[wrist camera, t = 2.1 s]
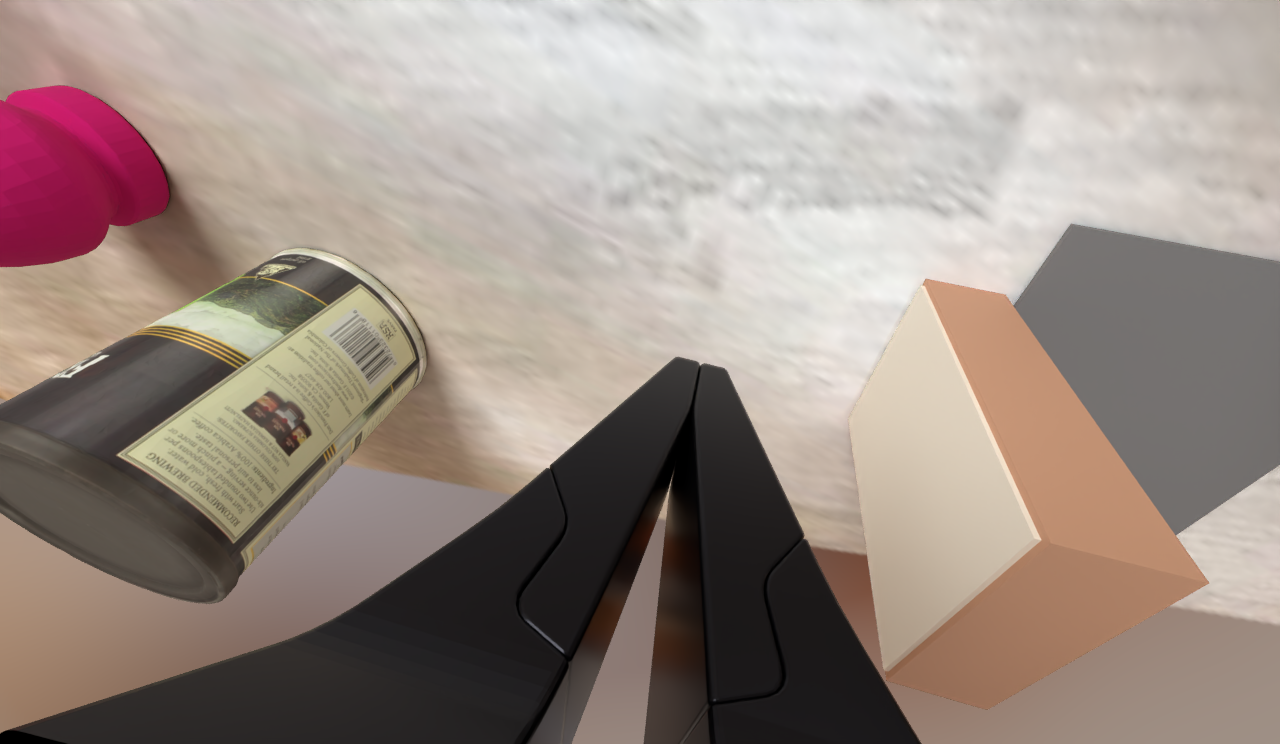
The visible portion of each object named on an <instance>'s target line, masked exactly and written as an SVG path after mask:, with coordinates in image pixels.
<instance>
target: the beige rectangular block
mask: <svg viewBox="0 0 1280 744" xmlns="http://www.w3.org/2000/svg"><path fill="white" fill-rule="evenodd" d="M848 423H849V430H850V437H851V444H852V451H853V459H854V466H855V473H856V480H857V487H858V494H859V501H860V508H861V515H862V522H863V529H864V536H865V544H866V551H867V558H868V565H869V571H870V579H871V586H872V593H873V600H874V607H875V614H876V621H877V628H878V635H879V643H880V649H881V657H882V663H883V670H884V671H885V674H886V681H889V682H892V683H896V684H899V685H902V686H906V687H909V688H913V689H917V690H920V691H923V692H927V693H930V694H933V695H937V696H940V697H944V698H947V699H950V700H954V701H957V702H961V703H964V704H968V705H971V706H975V707H978V708H982V709H985V710H988V709H990V708H991V707H993V706H995V705H996V704H998V703H1000V702H1002V701H1004V700H1005V699H1007V698H1009V697H1011V696H1012V695H1014V694H1016V693H1018V692H1019V691H1021V690H1023V689H1024V688H1026V687H1028V686H1030V685H1032V684H1033V683H1035V682H1037V681H1038V680H1040V679H1042V678H1044V677H1045V676H1047V675H1049V674H1051V673H1053V672H1054V671H1056V670H1058V669H1060V668H1061V667H1063V666H1065V665H1067V664H1068V663H1070V662H1072V661H1074V660H1075V659H1077V658H1079V657H1081V656H1082V655H1084V654H1086V653H1088V652H1089V651H1091V650H1093V649H1095V648H1096V647H1098V646H1100V645H1102V644H1103V643H1105V642H1107V641H1109V640H1110V639H1112V638H1114V637H1116V636H1117V635H1119V634H1121V633H1123V632H1124V631H1126V630H1128V629H1130V628H1131V627H1133V626H1135V625H1137V624H1138V623H1140V622H1142V621H1143V620H1145V619H1147V618H1149V617H1151V616H1152V615H1154V614H1156V613H1158V612H1160V611H1161V610H1163V609H1165V608H1167V607H1168V606H1170V605H1172V604H1174V603H1175V602H1177V601H1179V600H1181V599H1182V598H1184V597H1186V596H1188V595H1189V594H1191V593H1193V592H1195V591H1196V590H1198V589H1200V588H1202V587H1203V586H1205V585H1207V584H1209V582H1208V581H1207V579H1206V578H1205V576H1204V575H1203V574H1202V572H1201V571H1200V569H1199V568H1198V566H1197V565H1196V564H1195V562H1194V561H1193V559H1192V558H1191V557H1190V555H1189V554H1188V552H1187V551H1186V550H1185V548H1184V547H1183V545H1182V544H1181V542H1180V541H1179V540H1178V538H1177V537H1176V535H1175V534H1174V533H1173V531H1172V530H1171V528H1170V527H1169V525H1168V524H1167V523H1166V521H1165V520H1164V518H1163V517H1162V516H1161V514H1160V513H1159V511H1158V510H1157V508H1156V507H1155V506H1154V504H1153V503H1152V501H1151V500H1150V499H1149V497H1148V496H1147V494H1146V493H1145V492H1144V490H1143V489H1142V487H1141V486H1140V484H1139V483H1138V482H1137V480H1136V479H1135V477H1134V476H1133V475H1132V473H1131V472H1130V470H1129V469H1128V467H1127V466H1126V465H1125V463H1124V462H1123V460H1122V459H1121V458H1120V456H1119V455H1118V453H1117V452H1116V451H1115V449H1114V448H1113V446H1112V445H1111V443H1110V442H1109V441H1108V439H1107V438H1106V436H1105V435H1104V434H1103V432H1102V431H1101V429H1100V428H1099V426H1098V425H1097V424H1096V422H1095V421H1094V419H1093V418H1092V417H1091V415H1090V414H1089V412H1088V411H1087V410H1086V408H1085V407H1084V405H1083V404H1082V402H1081V401H1080V400H1079V398H1078V397H1077V395H1076V394H1075V393H1074V391H1073V390H1072V388H1071V387H1070V385H1069V384H1068V383H1067V381H1066V380H1065V378H1064V377H1063V376H1062V374H1061V373H1060V371H1059V370H1058V368H1057V367H1056V366H1055V364H1054V363H1053V361H1052V360H1051V359H1050V357H1049V356H1048V354H1047V353H1046V352H1045V350H1044V349H1043V347H1042V346H1041V344H1040V343H1039V342H1038V340H1037V339H1036V337H1035V336H1034V335H1033V333H1032V332H1031V330H1030V329H1029V327H1028V326H1027V325H1026V323H1025V322H1024V320H1023V319H1022V318H1021V316H1020V315H1019V313H1018V312H1017V311H1016V309H1015V308H1014V306H1013V305H1012V303H1011V302H1010V301H1009V299H1008V298H1007V296H1006V295H1004V294H999V293H994V292H989V291H984V290H979V289H974V288H969V287H964V286H959V285H954V284H949V283H944V282H939V281H934V280H929V279H925V281H924V283H923V285H920V287H919V289H918V291H917V292H916V294H915V296H914V298H913V300H912V302H911V304H910V305H909V307H908V309H907V311H906V313H905V315H904V317H903V318H902V320H901V322H900V324H899V326H898V328H897V329H896V331H895V333H894V335H893V337H892V339H891V341H890V342H889V344H888V346H887V348H886V350H885V352H884V354H883V355H882V357H881V359H880V361H879V363H878V365H877V367H876V368H875V370H874V372H873V374H872V376H871V378H870V379H869V381H868V383H867V385H866V387H865V389H864V391H863V392H862V394H861V396H860V398H859V400H858V402H857V404H856V405H855V407H854V409H853V411H852V413H851V415H850V417H849V418H848Z"/></svg>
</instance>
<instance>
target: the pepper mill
mask: <svg viewBox="0 0 1280 744" xmlns="http://www.w3.org/2000/svg"><path fill="white" fill-rule="evenodd" d="M169 197H170V196H169V188H168V182H167V180H166V177H165V174H164V171H163V169H162V167H161V165H160V164H159V162H158V160H157V159H156V157H155V155H154V154H153V152H152V150H151V149H150V147H149V146H148V145H147V144H146V142H145V141H144V140H143V138H142V137H141V136H140V135H139V133H138V132H137V131H136V130H135V129H134V128H133V127H132V126H131V125H130V124H129V123H128V122H127V121H126V120H125V119H124V118H123V117H122V116H121V115H120V114H119V113H117V112H116V111H115V110H113V109H112V108H111V107H109V106H108V105H107V104H105V103H104V102H102V101H101V100H100V99H98V98H96V97H94V96H92V95H90V94H88V93H86V92H84V91H82V90H80V89H76V88H73V87H69V86H50V87H43V88H36V89H29V90H21V91H16V92H14V93H12V94H11V95H9V96H8V98H7V100H6V102H4V101H2V100H0V267H23V266H31V265H40V264H49V263H55V262H59V261H63V260H66V259H70V258H73V257H77V256H81V255H84V254H87V253H89V252H90V251H92V250H94V249H96V248H97V247H98V246H99V245H100V243H101V242H102V241H103V239H104V238H105V236H106V234H107V231H108V229H109V224H110V225H116V226H129V225H131V224H134V223H137V222H140V221H142V220H145V219H148V218H151V217H153V216H156V215H159V214H160V213H162V212H163V211H164V210H165V209H166V207H167V204H168V200H169Z"/></svg>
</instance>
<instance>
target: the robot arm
mask: <svg viewBox="0 0 1280 744" xmlns="http://www.w3.org/2000/svg"><path fill="white" fill-rule="evenodd" d="M672 475H673V476H672ZM671 479H672V481H671ZM670 482H671V486H670ZM669 486H670V491H669V499H668V508H667V518H666V528H665V537H664V548H663V557H662V567H661V578H660V588H659V597H658V607H657V617H656V627H655V637H654V647H653V657H652V666H651V667H652V668H651V676H650V686H649V696H648V707H647V716H646V726H645V736H644V744H921V742H920V741H919V739H918V737H917V735H916V734H915V732H914V730H913V729H912V727H911V725H910V724H909V722H908V721H907V719H906V717H905V716H904V714H903V712H902V710H901V709H900V707H899V705H898V704H897V702H896V700H895V699H894V697H893V695H892V694H891V692H890V690H889V689H888V687H887V686H886V684H885V682H884V680H883V679H882V677H881V676H880V674H879V672H878V670H877V669H876V667H875V666H874V664H873V662H872V661H871V659H870V657H869V656H868V654H867V652H866V651H865V649H864V647H863V646H862V644H861V642H860V640H859V638H858V637H857V635H856V633H855V631H854V630H853V628H852V626H851V624H850V623H849V621H848V619H847V617H846V616H845V614H844V612H843V610H842V609H841V607H840V605H839V603H838V601H837V599H836V598H835V595H834V593H833V592H832V590H831V588H830V586H829V584H828V582H827V580H826V578H825V576H824V574H823V572H822V570H821V568H820V566H819V564H818V562H817V560H816V558H815V556H814V554H813V551H812V549H811V547H810V545H809V543H808V541H807V540H806V539H803V538H804V532H803V530H802V528H801V526H800V524H799V522H798V520H797V518H796V516H795V513H794V511H793V509H792V507H791V505H790V503H789V501H788V499H787V497H786V494H785V492H784V490H783V488H782V486H781V484H780V482H779V480H778V478H777V475H776V473H775V471H774V469H773V467H772V465H771V463H770V461H769V459H768V456H767V454H766V452H765V450H764V448H763V446H762V444H761V442H760V440H759V437H758V435H757V433H756V431H755V429H754V427H753V425H752V423H751V421H750V418H749V416H748V414H747V412H746V410H745V408H744V406H743V404H742V402H741V399H740V397H739V395H738V393H737V391H736V389H735V387H734V385H733V383H732V380H731V378H730V376H729V374H728V372H727V370H726V369H725V368H722V367H718V366H714V365H710V364H705V363H704V364H702V365H701V366H700V364H699V363H698V362H697V361H693V360H689V359H685V358H681V357H675V358H674V359H673V360H671V361H670V362H669V363H668V364H667V365H666V366H664V367H663V368H662V369H661V370H660V371H659V372H658V373H656V374H655V375H654V376H653V377H652V378H651V379H649V380H648V381H647V382H646V383H645V384H644V385H642V386H641V387H640V388H639V389H638V390H637V391H636V392H634V393H633V394H632V395H631V396H630V397H629V398H627V399H626V400H625V401H624V402H623V403H622V404H620V405H619V406H618V407H617V408H616V409H615V410H614V411H612V412H611V413H610V414H609V415H608V416H607V417H605V418H604V419H603V420H602V421H601V422H600V423H598V424H597V425H596V426H595V427H594V428H593V429H592V430H590V431H589V432H588V433H587V434H586V435H585V436H583V437H582V438H581V439H580V440H579V441H578V442H576V443H575V444H574V445H573V446H572V447H571V448H570V449H568V450H567V451H566V452H565V453H564V454H563V455H561V456H560V457H559V458H558V459H557V460H556V461H554V462H553V463H552V464H551V465H550V469H549V468H546V469H545V470H544V471H543V472H541V473H540V474H539V475H538V476H537V477H536V478H534V479H533V480H532V481H531V482H530V483H529V484H528V485H526V486H525V487H524V488H523V489H521V490H520V491H519V492H518V493H516V494H515V495H514V496H513V497H511V498H510V499H509V500H508V501H507V502H505V503H504V504H503V505H502V506H500V507H499V508H498V509H496V510H495V511H494V512H492V513H491V514H489V515H488V516H487V517H485V518H484V519H482V520H481V521H480V522H478V523H477V524H475V525H474V526H473V527H471V528H470V529H468V530H467V531H466V532H464V533H463V534H461V535H460V536H458V537H457V538H455V539H454V540H452V541H451V542H450V543H448V544H446V545H445V546H444V547H442V548H441V549H439V550H438V551H436V552H435V553H433V554H432V555H430V556H429V557H427V558H426V559H424V560H423V561H422V562H420V563H418V564H417V565H416V566H414V567H413V568H411V569H410V570H408V571H407V572H405V573H404V574H402V575H401V576H400V577H398V578H396V579H395V580H394V581H392V582H390V583H389V584H388V585H386V586H385V587H383V588H382V589H380V590H379V591H377V592H376V593H374V594H373V595H372V596H370V597H369V598H367V599H365V600H364V601H362V602H361V603H359V604H358V605H356V606H355V607H353V608H351V609H350V610H348V611H346V612H344V613H343V614H341V615H339V616H337V617H336V618H334V619H332V620H330V621H328V622H326V623H324V624H322V625H320V626H318V627H316V628H314V629H312V630H310V631H307V632H305V633H302V634H300V635H298V636H295V637H293V638H290V639H288V640H285V641H282V642H279V643H276V644H273V645H270V646H267V647H264V648H261V649H258V650H254V651H252V652H248V653H245V654H242V655H239V656H236V657H233V658H230V659H227V660H224V661H220V662H218V663H214V664H211V665H208V666H205V667H202V668H199V669H196V670H192V671H189V672H186V673H183V674H180V675H177V676H174V677H171V678H168V679H165V680H162V681H158V682H155V683H152V684H149V685H146V686H143V687H140V688H137V689H134V690H130V691H127V692H124V693H121V694H118V695H115V696H112V697H109V698H106V699H103V700H99V701H96V702H93V703H90V704H87V705H84V706H81V707H78V708H75V709H72V710H69V711H66V712H62V713H59V714H56V715H53V716H50V717H47V718H44V719H41V720H38V721H34V722H31V723H28V724H25V725H22V726H19V727H16V728H13V729H10V730H6V731H4V732H2V733H1V734H0V744H572V741H573V738H574V736H575V733H576V731H577V728H578V725H579V723H580V720H581V718H582V715H583V712H584V710H585V707H586V705H587V702H588V699H589V697H590V694H591V691H592V689H593V686H594V684H595V681H596V678H597V676H598V673H599V671H600V668H601V665H602V663H603V660H604V657H605V655H606V652H607V650H608V647H609V644H610V642H611V639H612V637H613V634H614V631H615V629H616V626H617V623H618V621H619V618H620V615H621V613H622V610H623V608H624V605H625V603H626V600H627V597H628V595H629V592H630V590H631V587H632V584H633V582H634V579H635V576H636V574H637V571H638V569H639V566H640V563H641V561H642V558H643V556H644V553H645V550H646V548H647V545H648V543H649V540H650V537H651V535H652V532H653V530H654V527H655V524H656V522H657V519H658V516H659V514H660V511H661V509H662V506H663V503H664V501H665V498H666V495H667V492H668V489H669Z"/></svg>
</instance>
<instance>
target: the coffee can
mask: <svg viewBox="0 0 1280 744" xmlns="http://www.w3.org/2000/svg"><path fill="white" fill-rule="evenodd" d="M425 369H426V350H425V346H424V342H423V339H422V335H421V334H420V332H419V330H418V328H417V326H416V325H415V323H414V321H413V319H412V317H411V316H410V315H409V313H408V312H407V310H406V309H405V307H404V306H403V305H402V304H401V303H400V301H399V300H398V299H397V298H396V297H395V296H394V295H393V294H392V293H391V292H390V291H389V290H388V289H387V288H386V287H385V286H384V285H382V284H381V283H380V282H379V281H378V280H377V279H376V278H375V277H373V276H372V275H370V274H369V273H367V272H365V271H364V270H362V269H361V268H359V267H358V266H356V265H355V264H353V263H351V262H349V261H347V260H345V259H343V258H341V257H339V256H336V255H334V254H331V253H327V252H324V251H320V250H315V249H309V248H294V249H288V250H285V251H282V252H280V253H278V254H276V255H275V256H273V257H272V258H271V259H270V260H268V261H266V262H264V263H263V264H261V265H259V266H257V267H256V268H254V269H252V270H250V271H248V272H247V273H245V274H243V275H241V276H239V277H237V278H235V279H234V280H232V281H230V282H228V283H226V284H224V285H222V286H221V287H219V288H217V289H215V290H213V291H212V292H210V293H208V294H206V295H204V296H202V297H201V298H199V299H197V300H195V301H193V302H191V303H190V304H188V305H186V306H184V307H182V308H180V309H179V310H177V311H175V312H173V313H171V314H169V315H167V316H165V317H163V318H161V319H159V320H157V321H156V322H154V323H152V324H150V325H148V326H146V327H145V328H143V329H141V330H139V331H137V332H135V333H134V334H132V335H130V336H128V337H126V338H124V339H122V340H120V341H118V342H116V343H114V344H113V345H111V346H109V347H107V348H105V349H103V350H101V351H99V352H98V353H96V354H94V355H92V356H90V357H89V358H87V359H85V360H83V361H81V362H79V363H77V364H75V365H73V366H71V367H69V368H67V369H65V370H63V371H62V372H60V373H58V374H56V375H54V376H53V377H51V378H49V379H47V380H45V381H43V382H41V383H40V384H38V385H36V386H34V387H33V388H31V389H29V390H27V391H25V392H23V393H21V394H19V395H17V396H16V397H14V398H12V399H10V400H8V401H6V402H4V403H2V404H1V405H0V513H2V514H3V515H5V516H6V517H8V518H9V519H10V520H12V521H13V522H15V523H16V524H18V525H20V526H21V527H23V528H25V529H26V530H28V531H29V532H31V533H32V534H34V535H36V536H37V537H39V538H41V539H43V540H44V541H46V542H48V543H50V544H51V545H53V546H55V547H57V548H59V549H61V550H63V551H65V552H66V553H68V554H70V555H71V556H73V557H75V558H77V559H78V560H80V561H82V562H84V563H87V564H89V565H91V566H93V567H95V568H97V569H99V570H101V571H103V572H105V573H107V574H110V575H112V576H114V577H117V578H119V579H121V580H124V581H126V582H128V583H131V584H134V585H136V586H138V587H141V588H144V589H147V590H150V591H152V592H155V593H158V594H161V595H164V596H167V597H170V598H174V599H178V600H182V601H187V602H194V603H205V604H212V603H216V602H220V601H222V600H223V599H224V598H226V596H227V595H228V594H229V593H230V592H231V591H232V589H233V588H234V587H235V586H236V584H237V582H238V578H239V576H240V575H241V574H242V573H243V572H244V571H245V570H246V569H247V568H248V567H249V566H250V565H251V563H252V562H253V561H254V560H255V559H256V558H257V557H258V556H259V555H260V554H261V553H262V551H263V550H264V549H265V548H266V547H267V546H268V545H269V544H270V543H271V542H272V541H273V539H274V538H275V537H276V536H277V535H278V534H279V533H280V532H281V531H282V529H283V528H284V527H285V526H286V525H287V524H288V523H289V522H290V521H291V520H292V519H293V518H294V517H295V516H296V515H297V514H298V512H299V511H300V510H301V509H302V508H303V507H304V506H305V505H306V503H307V502H308V501H309V500H310V499H311V498H312V497H313V496H314V495H315V494H316V493H317V492H318V491H319V489H320V488H321V487H322V486H323V485H324V484H325V483H326V482H327V481H328V480H329V478H330V477H331V476H332V475H333V474H334V473H335V472H336V471H337V470H338V468H339V467H340V466H341V465H342V464H343V463H344V462H345V461H346V460H347V459H348V458H349V457H350V456H351V455H352V454H353V453H354V451H355V450H356V449H357V448H358V447H359V446H360V445H361V444H362V443H363V441H364V440H365V439H366V438H367V437H368V436H369V435H370V434H371V433H372V432H373V431H374V430H375V428H376V427H377V426H378V425H379V424H380V423H381V422H382V421H383V420H384V419H385V418H386V417H387V415H388V414H389V413H390V412H391V411H392V410H393V409H394V408H395V407H396V405H397V404H398V403H399V402H400V401H401V400H402V399H403V398H404V397H405V396H406V395H407V394H408V393H409V392H410V391H411V390H412V389H414V388H415V387H416V386H417V385H418V384H419V383H420V382H421V380H422V377H423V376H424V373H425Z"/></svg>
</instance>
